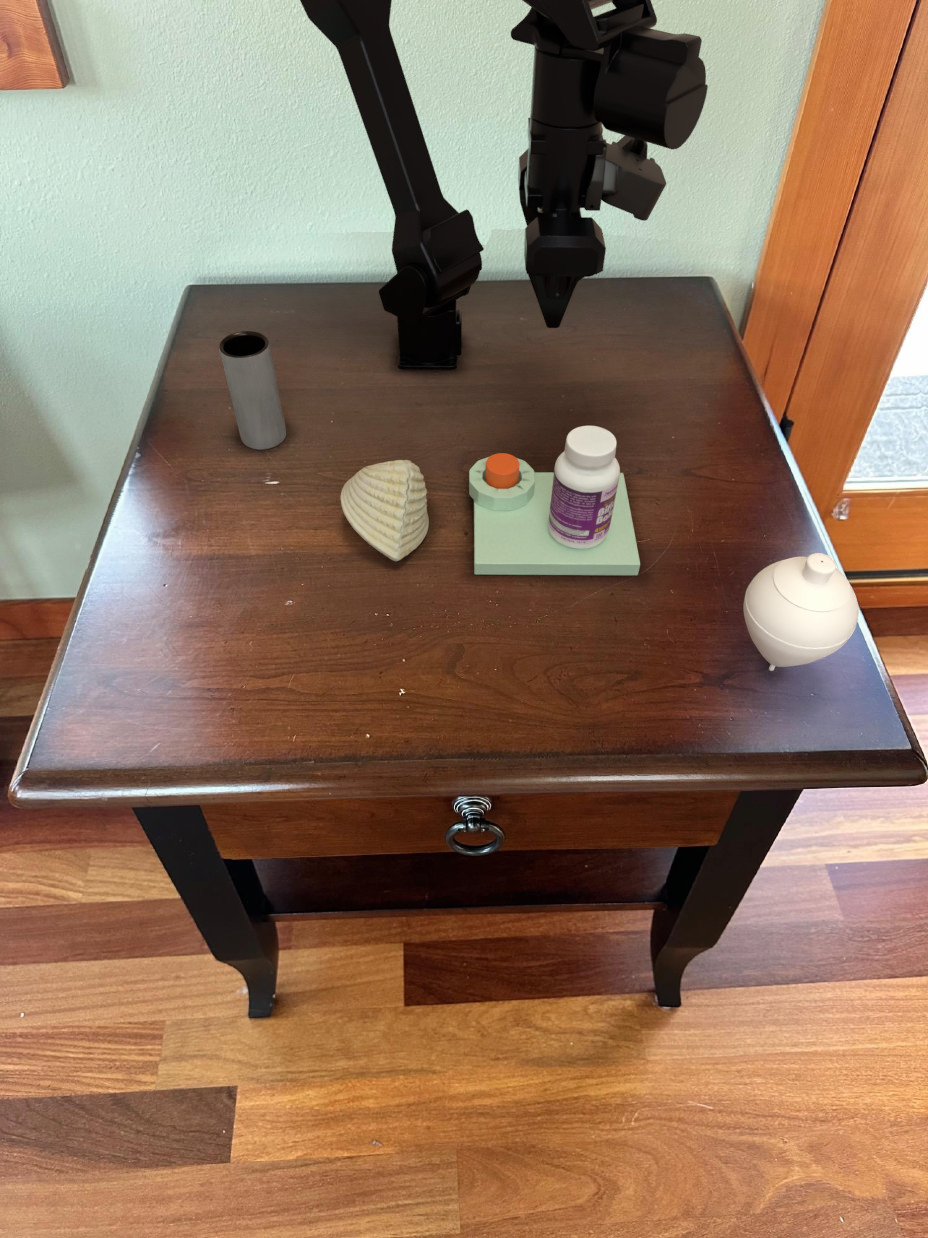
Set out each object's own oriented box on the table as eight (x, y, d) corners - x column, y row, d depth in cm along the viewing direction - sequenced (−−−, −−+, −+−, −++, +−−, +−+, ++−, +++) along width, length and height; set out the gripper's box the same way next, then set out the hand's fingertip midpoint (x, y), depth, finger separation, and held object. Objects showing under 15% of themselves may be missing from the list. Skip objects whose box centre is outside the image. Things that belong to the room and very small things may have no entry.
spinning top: (821, 721, 62) (884, 615, 53) (716, 697, 63) (760, 590, 54) (822, 643, 66) (879, 534, 57) (724, 623, 68) (765, 513, 59)
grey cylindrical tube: (295, 429, 84) (278, 336, 76) (270, 455, 82) (250, 361, 74) (257, 417, 86) (237, 325, 78) (231, 442, 83) (208, 349, 75)
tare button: (485, 489, 74) (486, 474, 73) (485, 468, 76) (485, 452, 75) (519, 489, 74) (520, 474, 73) (517, 468, 76) (518, 452, 75)
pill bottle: (605, 555, 71) (622, 466, 64) (543, 546, 72) (553, 456, 64) (611, 513, 74) (628, 423, 67) (552, 505, 75) (562, 415, 68)
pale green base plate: (469, 574, 71) (469, 549, 69) (468, 480, 79) (469, 454, 77) (638, 575, 71) (643, 550, 69) (620, 480, 79) (625, 455, 77)
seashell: (426, 460, 78) (457, 471, 70) (409, 549, 79) (438, 568, 72) (342, 444, 74) (366, 453, 67) (326, 537, 76) (347, 555, 69)
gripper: (688, 163, 60) (650, 357, 72) (652, 76, 72) (624, 254, 84) (532, 162, 60) (520, 356, 72) (523, 74, 72) (513, 252, 84)
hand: (549, 300), depth 78 cm, fingers open, 9 cm apart
